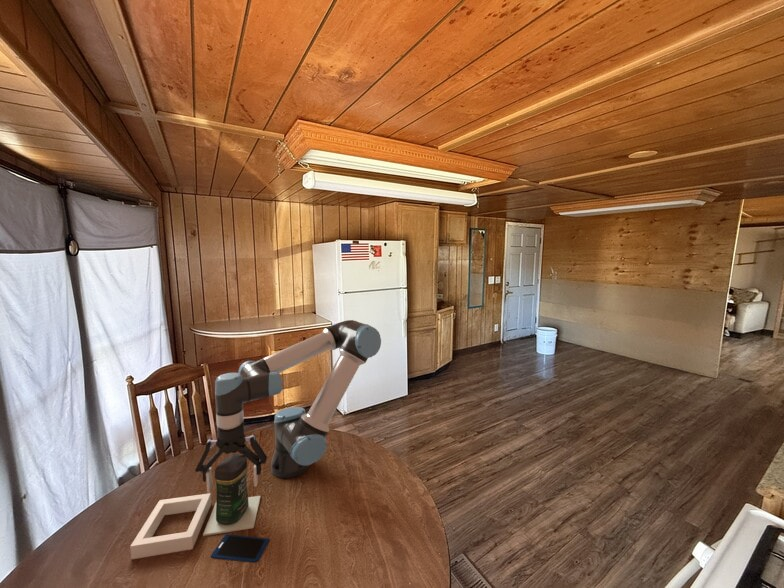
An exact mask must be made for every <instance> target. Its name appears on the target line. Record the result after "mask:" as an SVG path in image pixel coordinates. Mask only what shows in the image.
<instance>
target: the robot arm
mask: <svg viewBox="0 0 784 588" xmlns="http://www.w3.org/2000/svg"><path fill="white" fill-rule="evenodd" d="M381 345H382V338H381V334H380V332H379V331H378V329H376V327H373V326H372V325H369V324H366V323H362V322H359V321H357V320H354V319H352V320H351V319H348V320H343V321H341V322H338V323H335V324H332V325H330V326H328V327H324V329H323V330H322V332H320V333H318V334H316V335H315V334H314V335H313V336H311V337H308V338H306V339H303V340H302V341H299V342H297V343H295V344H293V345H290V346H288V347H286V348H284V349H282V350H279V351H276V352H275V353H272V354H270V355H268V356H265V357H263V358H261V359H258V360H256V361H255V360H247V361H245V362H243V363H241V365H240V366H239V368H238V370H237V371H238V372H227V373H223V374H220V375H218V376H217V378H216V379H215V382H214V397H215V398H214V399H215V418H216V435H217V436H216V437H217V439H213V438H208V439H207V442H206V443H205V450H204V451H203V454H202V456H201V457H200V460H199V461H198V463H197V466H196V468H195V470H194V471H195V472H196V473H199V472H201V473H202V482H203V483H206V494H209V493H211V491H212V489H213V473H212V472H213V470H212V466H213V464H214V463H215V462H216V461H217V460H218V459H219V458H220V457H221V455H222V454H223V453H224V454H225V455H227V454H231V453H232V454H237V452H238V454H242V455H244V456H245V457H246V458H247V460H249V461H250V462H251V463H252V464H254V465H253V486H254V487H257V486H258V482H259V476H260V475H261V472H262V464H266V463H267V459H268V456H267V454H266V453H265V451H264V450H263V449H262V446H261V445H260V444H259V441H258V440H257V436H256V434H255V433H252V434H251V435H249V436H246V435H245V422H244V420H245V418H244V417H245V416H244V415H245V414H244V403H245V404H246V403H249V402H253V401H257V400H260V399H261V400H262V399H266V398H271V397H273V396H275V395H277V396H278V395H279V394H281V393H282V391H283V378H282V375H281V373H282V372H284V371H287V370H289V369H290V368H293V367H295V366H297V365H299V364H301V363H303V362H305V361H308V360H310V359H312V358H314V357H316V356H318V355H320V354H321V355H322V353H324V352H327V351H330V350H331V351H335V350H337V349H339V357H338V358H337V360H336V361H335V363H334V365H333V367H332V369H331V370H330V373H329V375H328V376H327V377H326V380H325V382H324V383H323V385H322V387H321V388H320V390H319V392H318V394H317V395H316V398H315V399H314V401H313V402H312V405H311V406H310V408H309V410H308V411H307V412H306V409H305V408H304V407H301V406H292V407H291V406H289V407H286V408H282V409H280V410H278V412H276V413H275V414H274V421H273V424H274V452H273V455H272V458H271V461H270V471H271V474H272V475H274V476H275V477H276V478H281V479H288V478H289V479H290V478H295V477H298V476H300V475H302V474H304V473H305V472H307V470H308V469H309V468H310V466H311V465H312V464H314V463H317V462H318V461H319V460H321V458H322V457H323V456H324V455H325V453H326V450H327V446H328V444H327V439H326V437H327V435H328V433H329V432H330V428H329V423H330V421H331V419H332V418H333V416H334V414H335V412H336V410H337V408H338V406H339V405H340V403H341V402H342V399H343V397H344V395H345V394H346V392H347V390H348V388H349V386H350V385H351V383H352V381H353V379H354V377H355V375H356V374H357V371H358V369H359V368H360V366H362V365H364V364H366V363H367V361H368V359H369V358H372V357H374V356H376V355H377V354H378V353H379V352H380V348H381ZM246 442H247V443H248V445H250V447H251V449H250V447H248V446H247V444H246ZM215 446H216V447H217V448H218V449H217V450H216V452H215V453H214V454H213V455H212V456H211V457H210V459H208V461H207V462H206V459H207V457H208V455H209V453H210V451H211V449H212V448H214V447H215ZM252 450H253V451H252ZM205 462H206V463H205ZM204 463H205V464H204Z"/></svg>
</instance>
